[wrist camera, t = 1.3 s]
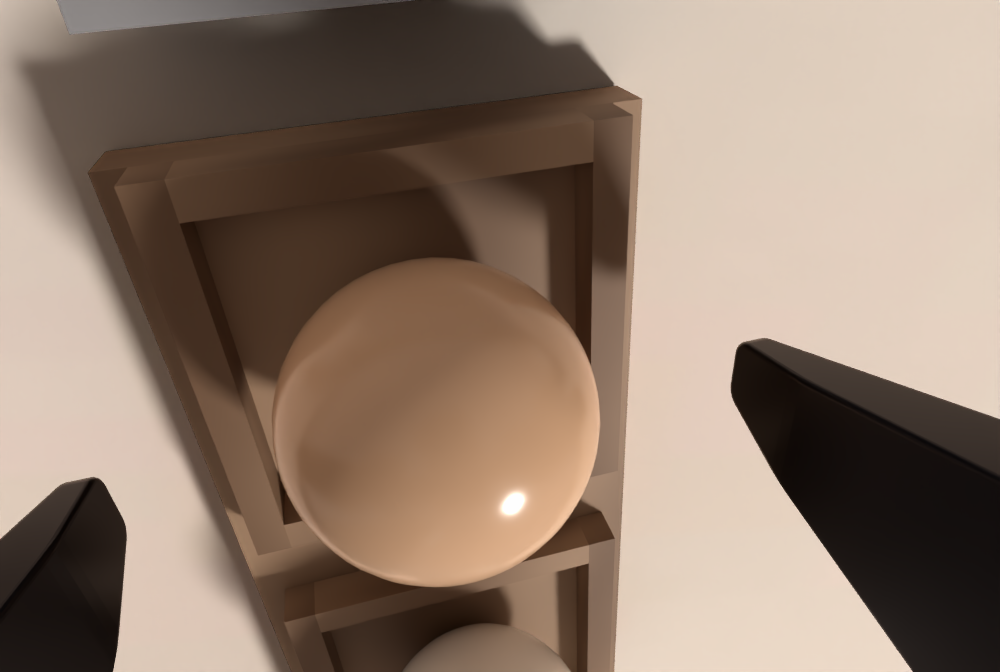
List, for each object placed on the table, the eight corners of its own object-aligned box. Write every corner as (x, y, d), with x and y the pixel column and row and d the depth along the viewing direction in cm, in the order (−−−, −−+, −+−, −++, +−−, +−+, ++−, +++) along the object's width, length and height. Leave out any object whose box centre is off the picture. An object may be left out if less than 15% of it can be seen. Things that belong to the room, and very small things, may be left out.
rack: (617, 85, 11) (665, 111, 10) (600, 648, 20) (624, 706, 18) (105, 151, 10) (71, 192, 8) (327, 725, 18) (329, 795, 17)
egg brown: (539, 188, 11) (670, 335, 7) (547, 412, 13) (646, 609, 9) (243, 234, 10) (207, 427, 6) (310, 463, 12) (314, 701, 9)
